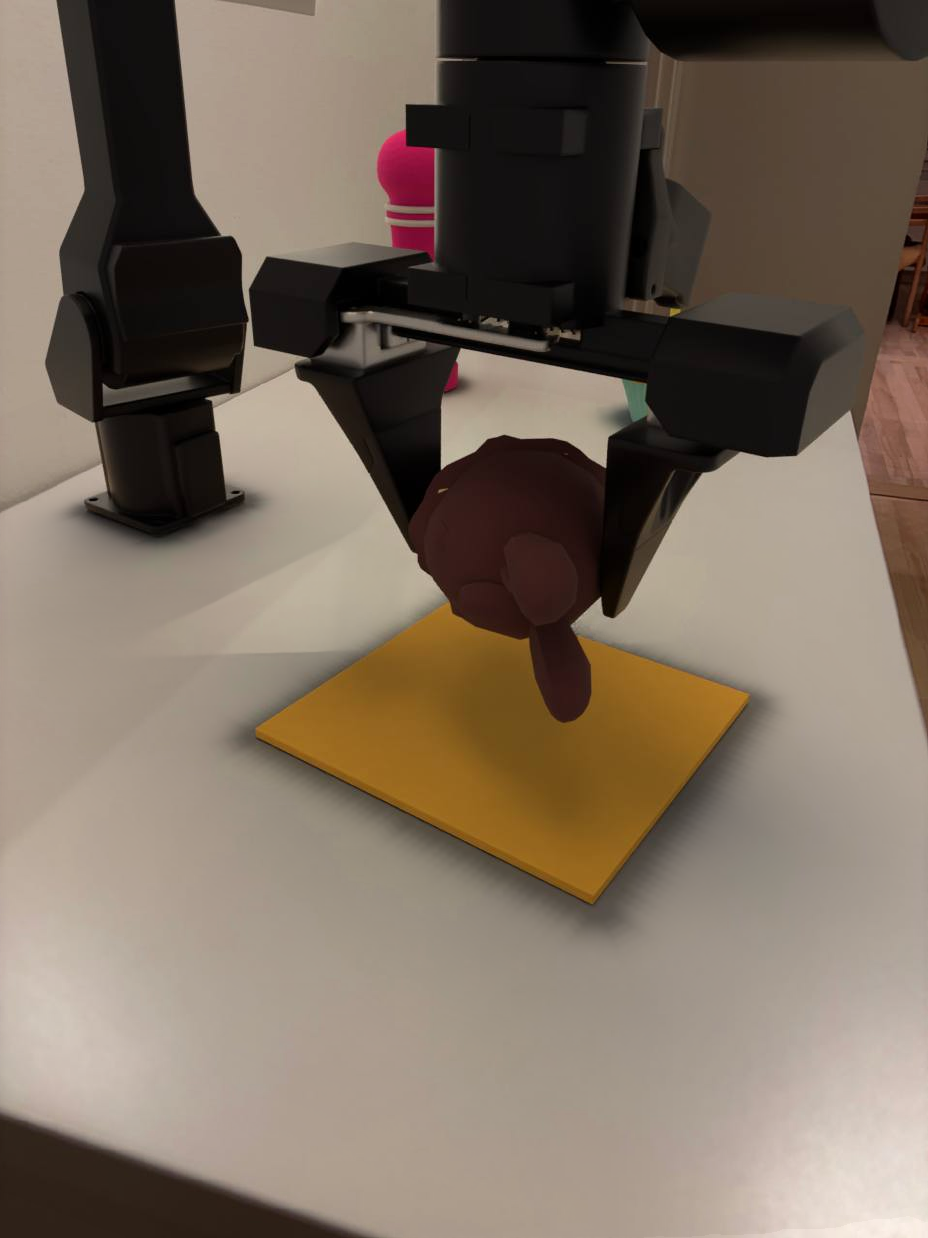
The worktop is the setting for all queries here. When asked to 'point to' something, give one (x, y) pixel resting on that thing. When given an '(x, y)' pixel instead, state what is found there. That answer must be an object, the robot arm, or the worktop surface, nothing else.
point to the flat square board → (512, 745)
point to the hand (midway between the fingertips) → (514, 579)
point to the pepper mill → (410, 199)
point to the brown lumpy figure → (520, 552)
